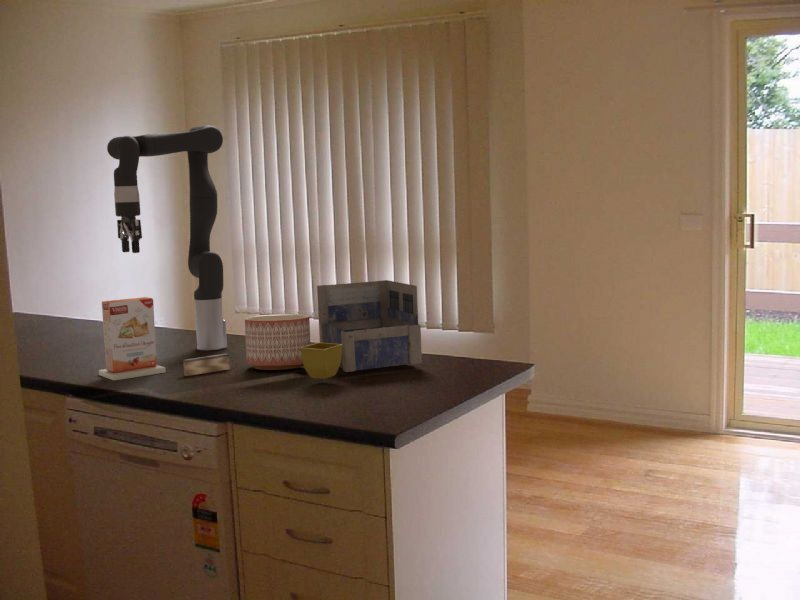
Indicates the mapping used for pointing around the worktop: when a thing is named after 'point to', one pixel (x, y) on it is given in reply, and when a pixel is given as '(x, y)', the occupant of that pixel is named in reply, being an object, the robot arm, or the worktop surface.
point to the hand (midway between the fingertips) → (130, 252)
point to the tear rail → (206, 364)
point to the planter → (276, 340)
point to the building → (371, 323)
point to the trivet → (132, 372)
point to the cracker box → (129, 334)
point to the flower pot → (321, 359)
